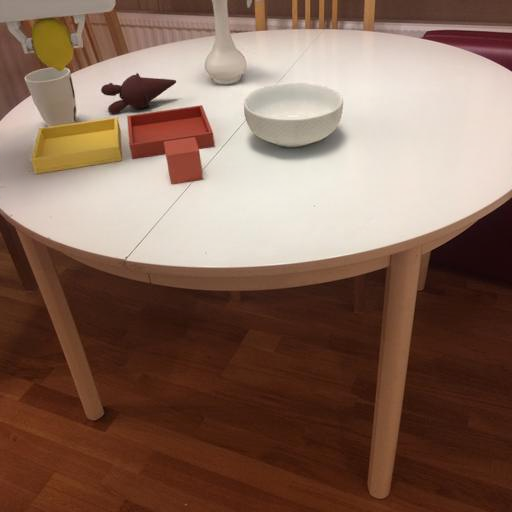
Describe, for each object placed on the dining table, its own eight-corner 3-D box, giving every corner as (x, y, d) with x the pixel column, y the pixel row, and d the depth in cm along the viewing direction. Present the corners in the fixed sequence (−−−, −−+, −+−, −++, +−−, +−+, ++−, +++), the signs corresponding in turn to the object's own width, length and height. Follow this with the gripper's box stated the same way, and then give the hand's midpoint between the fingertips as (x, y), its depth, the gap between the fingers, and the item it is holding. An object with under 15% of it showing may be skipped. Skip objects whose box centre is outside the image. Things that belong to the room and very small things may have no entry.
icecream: (167, 63, 109) (97, 82, 106) (174, 63, 103) (99, 84, 100) (177, 96, 112) (109, 116, 109) (184, 99, 106) (112, 120, 103)
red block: (171, 184, 81) (166, 155, 78) (168, 169, 85) (163, 141, 82) (203, 179, 82) (199, 150, 79) (198, 164, 86) (194, 136, 83)
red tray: (132, 159, 89) (129, 145, 88) (130, 128, 100) (127, 115, 98) (214, 146, 91) (213, 132, 90) (203, 117, 102) (202, 104, 100)
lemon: (49, 65, 82) (33, 10, 77) (84, 64, 81) (70, 8, 76) (36, 78, 77) (18, 20, 72) (72, 76, 77) (57, 18, 72)
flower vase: (258, 93, 110) (250, -42, 95) (180, 86, 116) (161, -42, 101) (278, 72, 120) (274, -53, 104) (206, 67, 126) (192, -53, 110)
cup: (89, 126, 102) (75, 74, 96) (48, 138, 98) (31, 85, 92) (75, 113, 107) (61, 64, 101) (36, 124, 104) (19, 74, 98)
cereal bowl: (328, 165, 83) (329, 123, 79) (231, 154, 88) (227, 114, 84) (350, 122, 96) (353, 84, 91) (265, 115, 101) (263, 78, 97)
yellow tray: (35, 174, 87) (30, 159, 85) (43, 141, 97) (38, 128, 96) (121, 160, 89) (118, 146, 87) (120, 130, 99) (117, 116, 98)
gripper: (105, -68, 73) (125, 36, 81) (-51, -55, 70) (-13, 51, 78) (104, -63, 68) (126, 47, 76) (-63, -49, 65) (-22, 64, 73)
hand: (54, 49), depth 77 cm, fingers closed on lemon, 5 cm apart
